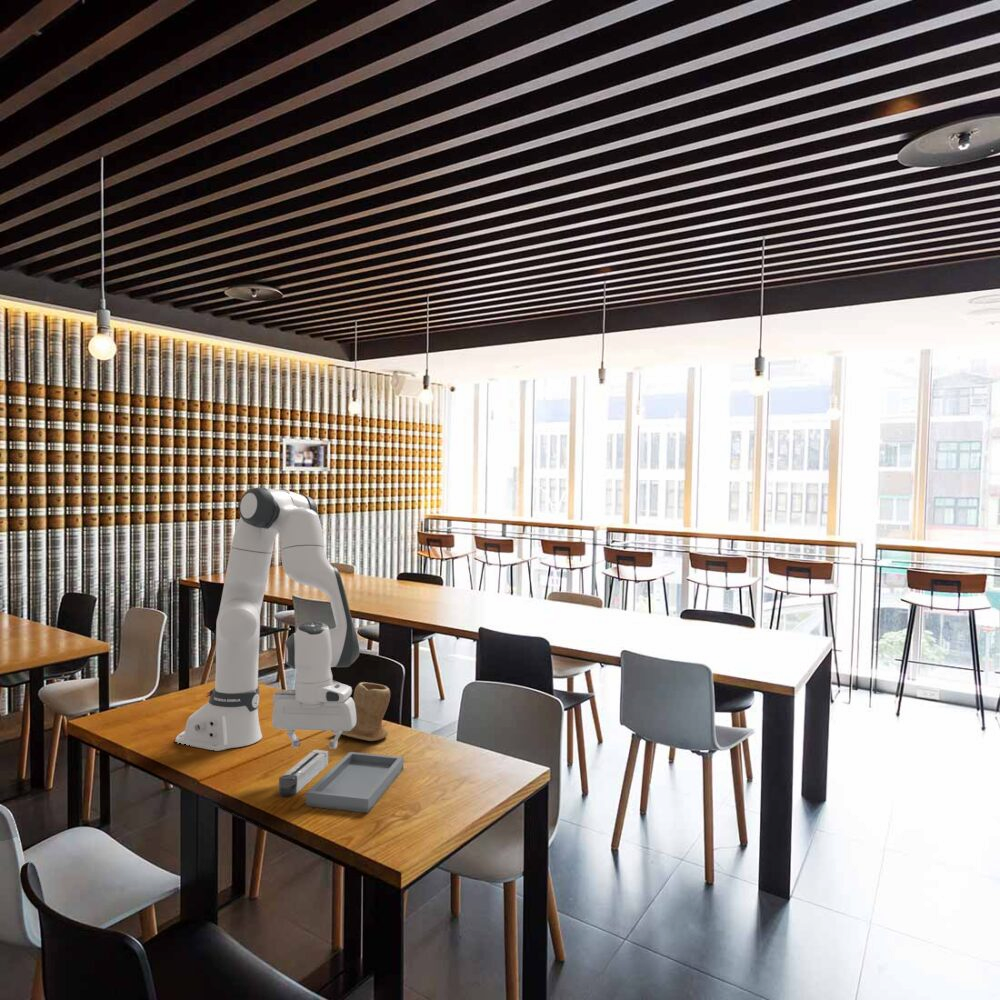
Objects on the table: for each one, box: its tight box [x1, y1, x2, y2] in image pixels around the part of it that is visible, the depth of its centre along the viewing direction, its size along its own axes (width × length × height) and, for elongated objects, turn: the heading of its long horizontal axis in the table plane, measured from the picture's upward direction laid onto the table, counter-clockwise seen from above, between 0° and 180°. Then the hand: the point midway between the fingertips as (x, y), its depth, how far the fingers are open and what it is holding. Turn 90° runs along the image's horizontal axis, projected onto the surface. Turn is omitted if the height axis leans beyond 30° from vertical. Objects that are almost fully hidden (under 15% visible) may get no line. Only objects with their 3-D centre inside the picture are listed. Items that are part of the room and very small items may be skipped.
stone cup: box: [341, 681, 391, 742], centre depth 197 cm, size 15×12×15 cm
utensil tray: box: [305, 751, 405, 814], centre depth 163 cm, size 14×25×3 cm, turn 170°
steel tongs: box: [278, 749, 329, 798], centre depth 166 cm, size 4×20×4 cm, turn 170°
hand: (314, 747), depth 167 cm, fingers open, 8 cm apart
